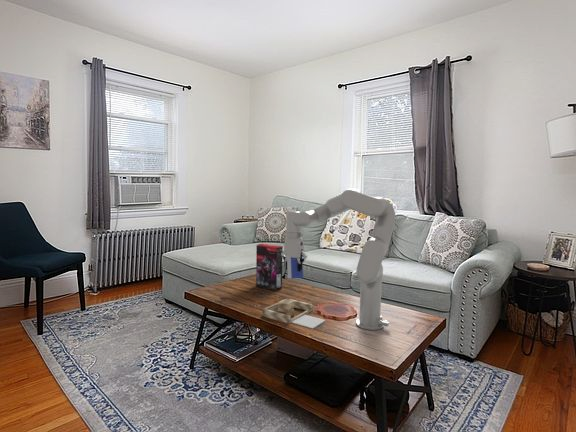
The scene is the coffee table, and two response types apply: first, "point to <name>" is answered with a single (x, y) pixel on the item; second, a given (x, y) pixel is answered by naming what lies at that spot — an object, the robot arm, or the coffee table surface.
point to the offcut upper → (285, 306)
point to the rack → (271, 313)
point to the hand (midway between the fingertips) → (293, 269)
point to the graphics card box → (269, 266)
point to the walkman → (293, 267)
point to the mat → (308, 321)
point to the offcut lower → (288, 313)
